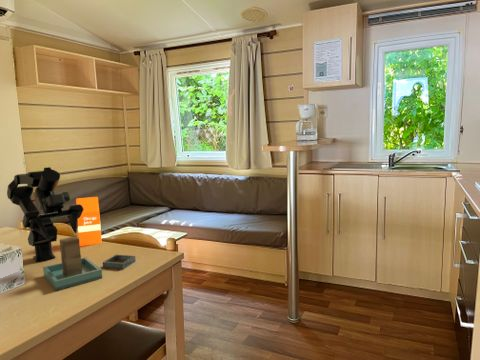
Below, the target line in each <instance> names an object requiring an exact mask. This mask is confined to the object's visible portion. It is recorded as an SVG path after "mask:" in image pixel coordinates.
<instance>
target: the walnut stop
mask: <svg viewBox="0 0 480 360" xmlns="http://www.w3.org/2000/svg"><path fill="white" fill-rule="evenodd" d="M59 246H60V258H61V263H62V269H63V275H65V276H66V277H70V276H74V275H78V274H82V265H81V258H82V256H81V246H80V242H79V237H76V236H70V237H65V238H60V239H59Z"/></svg>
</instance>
